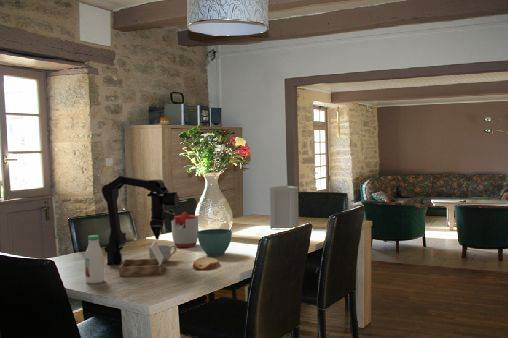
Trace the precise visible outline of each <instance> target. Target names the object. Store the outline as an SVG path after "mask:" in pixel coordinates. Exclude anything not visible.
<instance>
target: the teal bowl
mask: <svg viewBox="0 0 508 338" xmlns="http://www.w3.org/2000/svg"><path fill="white" fill-rule="evenodd" d="M197 236H198V239H197V241H198V243H199V246H200V247H201V250H203V252H204V253H205V254H206V255H207V257H221V256H223V255H224V254H225V252H226V251H227V249H228V248H229V246H230V244H231V240H232V236H233V230H231V229H226V228H210V229H202V230H198V232H197Z"/></svg>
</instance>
